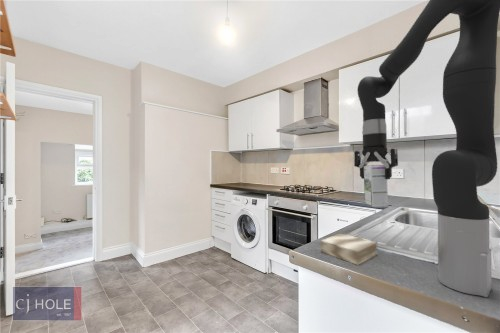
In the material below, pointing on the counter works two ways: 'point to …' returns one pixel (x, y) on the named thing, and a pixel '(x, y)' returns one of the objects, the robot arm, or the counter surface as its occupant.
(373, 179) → the syrup box
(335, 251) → the beige flat block
